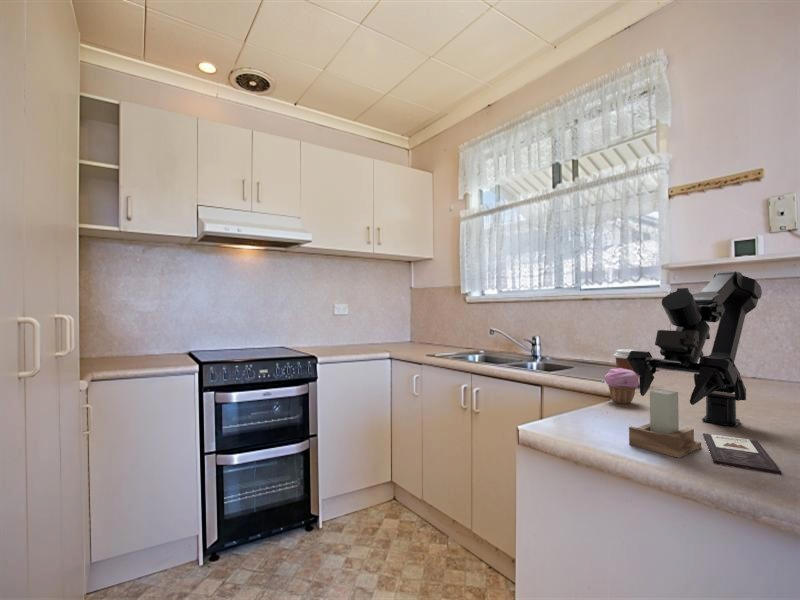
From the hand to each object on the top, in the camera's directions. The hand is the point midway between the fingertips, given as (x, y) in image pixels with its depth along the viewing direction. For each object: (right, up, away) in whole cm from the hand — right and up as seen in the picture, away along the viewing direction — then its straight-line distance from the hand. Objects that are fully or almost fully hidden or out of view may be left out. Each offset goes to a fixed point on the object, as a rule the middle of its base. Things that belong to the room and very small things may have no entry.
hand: (665, 398), depth 82 cm
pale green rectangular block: (0, -8, 0) cm, 9 cm away
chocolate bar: (+11, -10, -4) cm, 16 cm away
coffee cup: (+29, -10, +63) cm, 70 cm away
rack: (0, -9, 0) cm, 10 cm away
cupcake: (+11, -10, +36) cm, 39 cm away
